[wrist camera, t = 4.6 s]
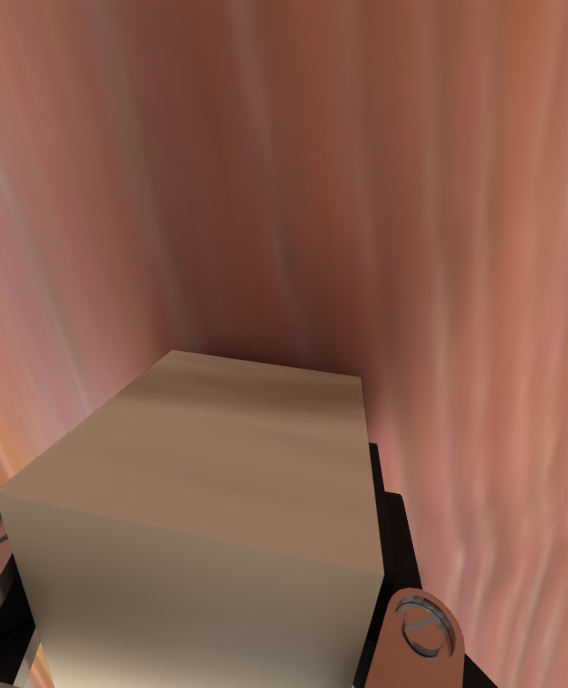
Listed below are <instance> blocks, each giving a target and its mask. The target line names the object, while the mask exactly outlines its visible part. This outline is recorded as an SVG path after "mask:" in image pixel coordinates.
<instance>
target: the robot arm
mask: <svg viewBox="0 0 568 688" xmlns="http://www.w3.org/2000/svg"><path fill="white" fill-rule="evenodd" d="M368 443H369V442H368ZM369 452H370V460H371V468H372V477H373V485H374V493H375V502H376V510H377V518H378V527H379V535H380V543H381V552H382V560H383V568H384V577H383V580H382V584H381V587H380V591H379V594H378V598H377V601H376V605H375V608H374V611H373V615H372V618H371V622H370V625H369V629H368V632H367V636H366V639H365V643H364V646H363V649H362V653H361V656H360V660H359V663H358V667H357V670H356V674H355V677H354V680H353V684H352V685H353V686H354V688H498V687H497V686H496V685H495V684H494V683H493V682H492V681H491V680H490V679H489V678H488V677H487V676H486V675H485V673H484V672H483V671H482V670H481V669H480V668H479V667H478V666H477V665H476V664H475V663H474V662H473V661H472V660H471V659H470V658H469V657H468V656H467V655H466V654H465V647H464V637H463V634H462V631H461V629H460V626H459V624H458V622H457V620H456V619H455V617H454V616H453V614H452V612H451V611H450V610H449V609H448V608H447V607H446V606H445V605H444V604H443V603H442V602H441V601H440V600H439V599H437V598H436V597H435V596H433V595H432V594H430V593H428V592H425V591H423V590H422V585H421V581H420V576H419V571H418V567H417V562H416V557H415V553H414V548H413V544H412V539H411V534H410V530H409V525H408V520H407V516H406V511H405V507H404V502H403V498H402V496H401V495H400V494H397V493H391V492H386V491H384V484H383V478H382V472H381V465H380V459H379V452H378V446H377V444H375V443H369ZM40 642H41V641H40V638H39V635H38V632H37V628H36V625H35V622H34V619H33V616H32V612H31V609H30V606H29V603H28V600H27V596H26V593H25V590H24V587H23V584H22V580H21V577H20V574H19V571H18V568H17V564H16V561H15V558H14V555H13V552H12V548H11V545H10V542H9V539H8V536H7V532H6V529H5V526H4V523H3V520H2V516H1V513H0V688H23V687H24V685H25V682H26V679H27V677H28V674H29V671H30V669H31V666H32V663H33V660H34V658H35V655H36V652H37V650H38V647H39V644H40Z"/></svg>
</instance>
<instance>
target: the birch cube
mask: <svg viewBox="0 0 568 688" xmlns="http://www.w3.org/2000/svg"><path fill="white" fill-rule="evenodd" d="M0 513H1V516H2V520H3V523H4V526H5V529H6V532H7V536H8V539H9V542H10V545H11V548H12V552H13V555H14V558H15V561H16V564H17V568H18V571H19V574H20V577H21V580H22V584H23V587H24V590H25V593H26V596H27V600H28V603H29V606H30V609H31V612H32V616H33V619H34V622H35V625H36V628H37V632H38V635H39V638H40V641H41V644H42V648H43V651H44V654H45V657H46V660H47V664H48V667H49V670H50V673H51V676H52V680H53V683H54V686H55V688H351V687H352V684H353V680H354V677H355V674H356V670H357V667H358V663H359V660H360V656H361V653H362V649H363V646H364V643H365V639H366V636H367V632H368V629H369V625H370V622H371V618H372V615H373V611H374V608H375V605H376V601H377V598H378V594H379V591H380V587H381V584H382V580H383V577H384V568H383V560H382V552H381V543H380V535H379V527H378V518H377V510H376V502H375V493H374V485H373V477H372V468H371V460H370V452H369V443H368V435H367V426H366V418H365V410H364V401H363V393H362V385H361V377H356V376H349V375H342V374H335V373H328V372H321V371H314V370H307V369H300V368H294V367H287V366H280V365H273V364H266V363H259V362H252V361H245V360H238V359H231V358H224V357H218V356H211V355H204V354H197V353H190V352H183V351H176V350H171V351H170V352H169V353H168V354H166V355H165V356H164V357H163V358H161V359H160V360H159V361H158V362H156V363H155V364H154V365H153V366H151V367H150V368H149V369H148V370H146V371H145V372H144V373H143V374H141V375H140V376H139V377H138V378H136V379H135V380H134V381H133V382H131V383H130V384H129V385H128V386H126V387H125V388H124V389H123V390H121V391H120V392H119V393H118V394H116V395H115V396H114V397H113V398H111V399H110V400H109V401H108V402H106V403H105V404H104V405H103V406H101V407H100V408H99V409H98V410H96V411H95V412H94V413H93V414H91V415H90V416H89V417H88V418H86V419H85V420H84V421H83V422H81V423H80V424H79V425H77V426H76V427H75V428H74V429H72V430H71V431H70V432H69V433H67V434H66V435H65V436H64V437H62V438H61V439H60V440H59V441H57V442H56V443H55V444H54V445H52V446H51V447H50V448H49V449H47V450H46V451H45V452H44V453H42V454H41V455H40V456H39V457H37V458H36V459H35V460H34V461H32V462H31V463H30V464H29V465H27V466H26V467H25V468H24V469H22V470H21V471H20V472H19V473H17V474H16V475H15V476H14V477H12V478H11V479H10V480H9V481H7V482H6V483H5V484H4V485H2V486H1V487H0Z"/></svg>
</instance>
